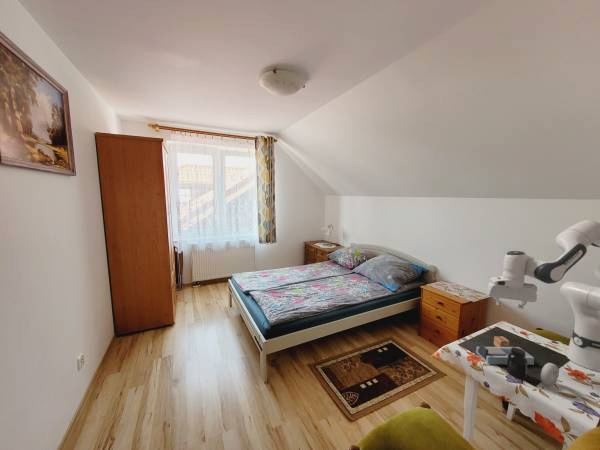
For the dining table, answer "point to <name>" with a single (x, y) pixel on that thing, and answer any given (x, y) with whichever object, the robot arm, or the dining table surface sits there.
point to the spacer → (501, 341)
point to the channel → (503, 358)
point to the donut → (549, 374)
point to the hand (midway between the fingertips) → (509, 306)
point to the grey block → (490, 351)
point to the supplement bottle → (517, 363)
